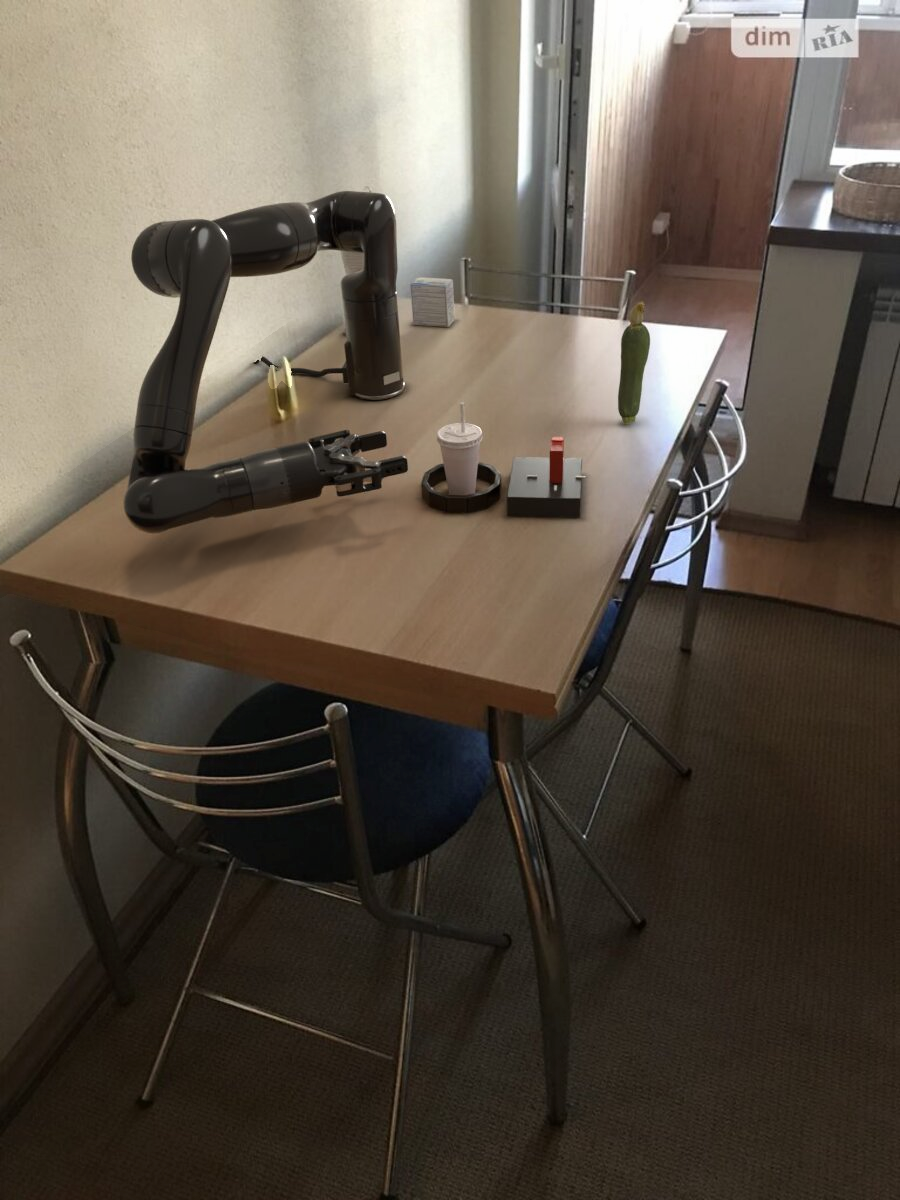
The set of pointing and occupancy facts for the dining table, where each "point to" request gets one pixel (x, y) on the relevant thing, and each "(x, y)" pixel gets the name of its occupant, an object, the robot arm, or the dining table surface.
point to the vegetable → (633, 364)
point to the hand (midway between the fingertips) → (395, 450)
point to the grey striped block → (432, 302)
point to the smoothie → (460, 454)
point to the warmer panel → (544, 488)
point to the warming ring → (461, 501)
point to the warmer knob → (556, 460)
